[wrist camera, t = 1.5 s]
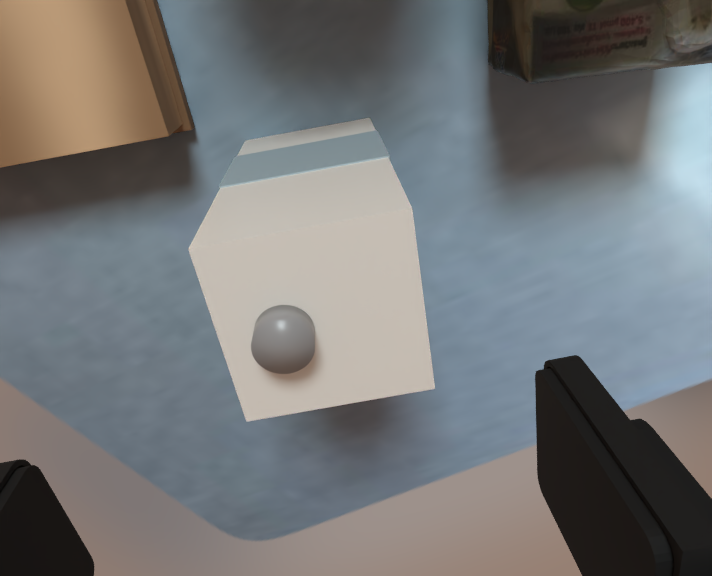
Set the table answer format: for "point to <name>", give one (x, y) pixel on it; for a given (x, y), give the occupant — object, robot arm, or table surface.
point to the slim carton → (314, 273)
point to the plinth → (85, 77)
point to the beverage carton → (596, 36)
